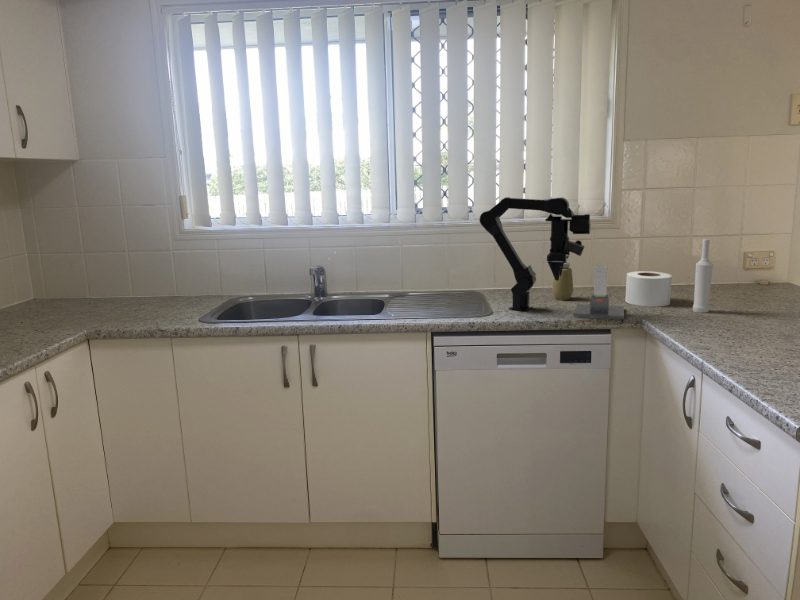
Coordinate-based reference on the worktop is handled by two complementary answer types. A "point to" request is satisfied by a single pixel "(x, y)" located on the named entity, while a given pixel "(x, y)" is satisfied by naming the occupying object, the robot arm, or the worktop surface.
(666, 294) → the white toilet paper roll
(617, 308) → the stand
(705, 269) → the bottle
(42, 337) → the worktop surface
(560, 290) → the squeeze bottle
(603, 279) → the column
